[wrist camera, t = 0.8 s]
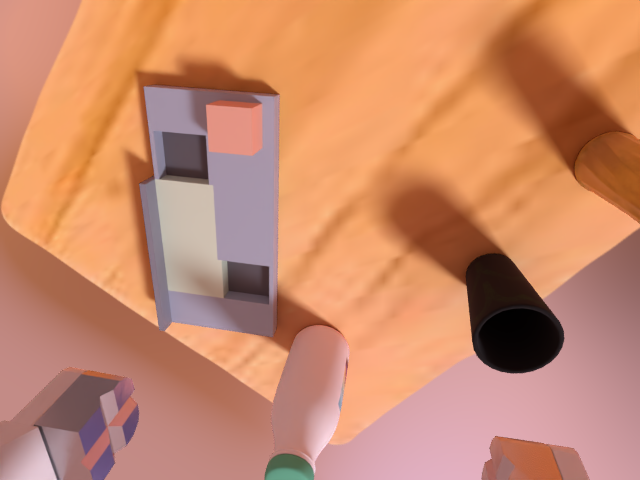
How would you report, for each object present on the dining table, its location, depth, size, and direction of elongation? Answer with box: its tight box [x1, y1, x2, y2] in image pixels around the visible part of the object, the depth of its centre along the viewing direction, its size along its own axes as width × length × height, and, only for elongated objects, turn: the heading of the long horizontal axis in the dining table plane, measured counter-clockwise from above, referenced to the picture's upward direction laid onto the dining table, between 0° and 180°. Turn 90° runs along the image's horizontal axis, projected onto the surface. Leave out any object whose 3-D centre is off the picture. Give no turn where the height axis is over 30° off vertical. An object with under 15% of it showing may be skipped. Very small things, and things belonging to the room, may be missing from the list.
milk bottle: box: [265, 325, 349, 480], centre depth 48 cm, size 8×8×20 cm
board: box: [139, 85, 279, 337], centre depth 50 cm, size 30×15×4 cm, turn 177°
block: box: [206, 100, 263, 156], centre depth 42 cm, size 4×4×4 cm
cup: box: [466, 254, 564, 373], centre depth 43 cm, size 8×8×12 cm
